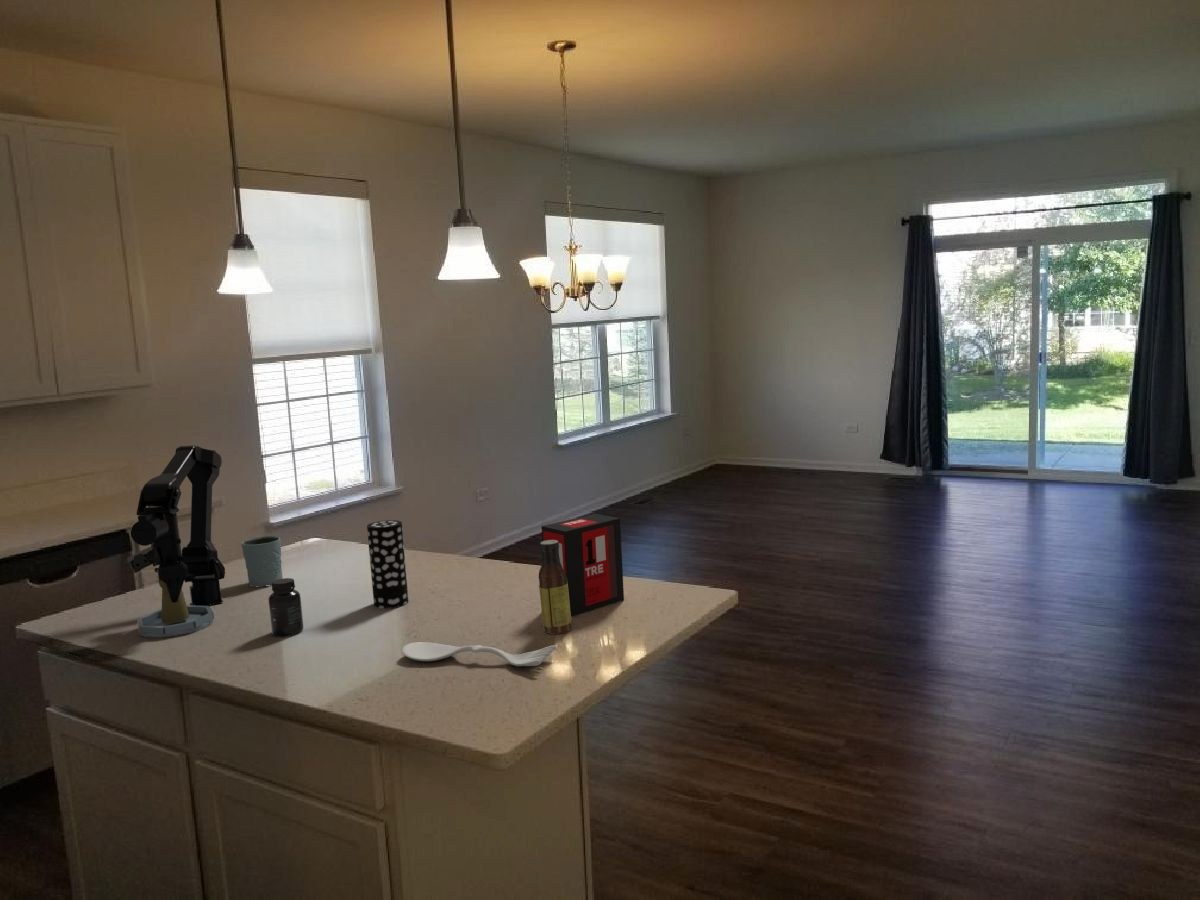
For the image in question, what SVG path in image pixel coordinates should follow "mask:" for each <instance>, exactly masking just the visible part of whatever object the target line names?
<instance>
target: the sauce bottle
mask: <svg viewBox="0 0 1200 900" xmlns="http://www.w3.org/2000/svg"><path fill="white" fill-rule="evenodd" d="M539 547H540V548H539V549H540V550H541V562H542V564H541V566H540V568H539V571H538V583H539V585H538V587H539V597H540V607H541V617H542V619H541V620H542V625H543V630H544V632H545V633H546V634H552V635H560V634H565V633H567V632H569V631H571V629H572V617H571V612H570V602H569V592H568V582H567V577H566V574H565V571H564V570H563V568H562V565H561V563H560V558H559V550H558V549H559V542H558V541H557V540H546V541H542V540H541V542H540V543H539Z"/></svg>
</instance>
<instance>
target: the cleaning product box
mask: <svg viewBox="0 0 1200 900" xmlns="http://www.w3.org/2000/svg"><path fill="white" fill-rule="evenodd" d="M621 532H622V531H621V518H619V517H614V516H610V515H609V516H608V515H603V514H600V513H592V514H589V515H584V516H579V517H576V518H571V519H566V520H562V521H558V522H554V523H551V524H550V523H549V524H545V525H542V526H541V542H542V541H546V540H557V541H558V542H559V549H558V550H559V558H560V563H561V565H562V568H563V570H564V571H565V574H566V577H567V582H568V592H569V602H570V612H571V618H574V617H577V616H579V615H583V614H586V613H589V612H592V611H595V610H599V609H601V608H605V607H607V606H608V607H609V606H611V605H613V604H617V603H620V602H623V601H625V592H624V591H625V589H624V574H623V573H624V571H623V569H624V568H623V554H622V553H623V549H622V533H621Z"/></svg>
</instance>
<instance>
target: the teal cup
mask: <svg viewBox="0 0 1200 900" xmlns="http://www.w3.org/2000/svg"><path fill="white" fill-rule="evenodd" d="M281 543H282V542H281V537H280V536H275V535H270V536H269V535H267V536H265V535H264V536H259V537H253V538H248V539H246V540H244V541H243V540H242V542H241V543H240V545H241V549H242V555H243V559H244V561H245V562H244V563H245V569H246V570H247V571H246V572H247V578H248V579H247V580H248V584H249V586H250V585H252V586H266V585H272V582H273V581H275V580H278V579H283V570H282V569H283V568H282V562H283V561H282V558H281V557H282V547H281V545H282V544H281Z"/></svg>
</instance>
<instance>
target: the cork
mask: <svg viewBox="0 0 1200 900" xmlns="http://www.w3.org/2000/svg"><path fill="white" fill-rule="evenodd" d="M158 584H159V587H160V588H161V610H162V617H161V621H162V622H165V623H171V622H178V621H182V620H185V619H187V618H189V613H188V609H187V602H186V598H185V595H184V591H183V587H182V588H181V592H180V595H179V598H178V601H177V602H175V603H172V601H171V598H170V595H169V592H168V589H167V586H166V583H164V582H163V581H161V580H159V579H158Z"/></svg>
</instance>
